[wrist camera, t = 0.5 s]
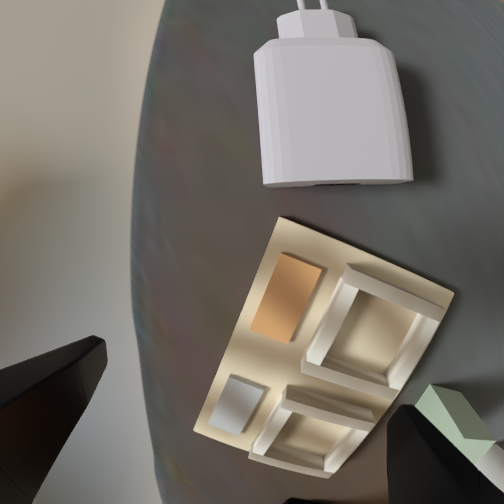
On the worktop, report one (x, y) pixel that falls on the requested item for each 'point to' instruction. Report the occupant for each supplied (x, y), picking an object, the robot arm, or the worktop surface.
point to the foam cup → (493, 465)
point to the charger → (329, 105)
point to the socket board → (318, 351)
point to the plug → (456, 421)
